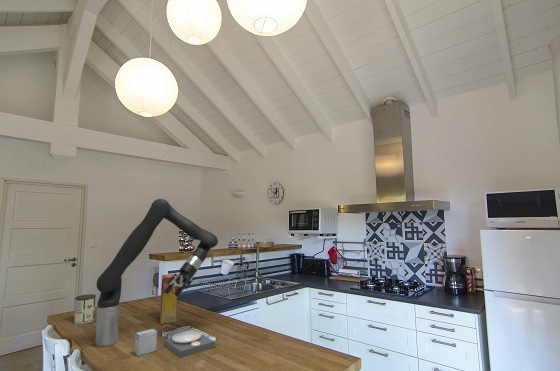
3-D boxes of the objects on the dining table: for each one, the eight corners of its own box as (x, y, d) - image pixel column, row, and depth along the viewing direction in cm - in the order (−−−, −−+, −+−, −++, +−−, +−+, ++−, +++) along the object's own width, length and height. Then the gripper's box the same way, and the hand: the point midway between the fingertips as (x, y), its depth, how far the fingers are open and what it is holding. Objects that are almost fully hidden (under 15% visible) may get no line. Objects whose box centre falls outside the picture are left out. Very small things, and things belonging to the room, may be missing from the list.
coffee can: (82, 318, 188) (83, 294, 190) (98, 318, 187) (99, 294, 189) (69, 323, 178) (70, 298, 179) (86, 324, 177) (87, 298, 178)
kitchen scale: (164, 345, 145) (164, 336, 145) (196, 336, 155) (196, 328, 156) (180, 357, 131) (181, 347, 132) (214, 347, 142) (214, 337, 142)
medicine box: (152, 348, 141) (153, 328, 142) (156, 351, 138) (157, 330, 139) (134, 353, 136) (135, 332, 137) (138, 356, 133) (139, 335, 134)
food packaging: (177, 321, 179) (178, 277, 182) (159, 324, 175) (161, 278, 178) (176, 315, 191) (177, 273, 194) (159, 317, 188) (160, 274, 191)
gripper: (178, 261, 162) (157, 287, 151) (195, 262, 153) (174, 291, 143) (187, 270, 165) (167, 296, 155) (204, 272, 156) (184, 300, 146)
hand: (170, 294), depth 149 cm, fingers open, 8 cm apart
